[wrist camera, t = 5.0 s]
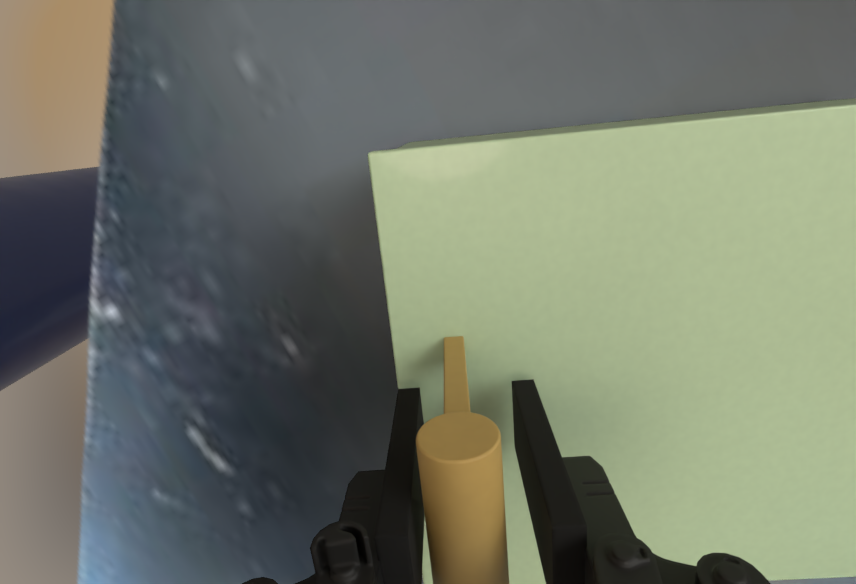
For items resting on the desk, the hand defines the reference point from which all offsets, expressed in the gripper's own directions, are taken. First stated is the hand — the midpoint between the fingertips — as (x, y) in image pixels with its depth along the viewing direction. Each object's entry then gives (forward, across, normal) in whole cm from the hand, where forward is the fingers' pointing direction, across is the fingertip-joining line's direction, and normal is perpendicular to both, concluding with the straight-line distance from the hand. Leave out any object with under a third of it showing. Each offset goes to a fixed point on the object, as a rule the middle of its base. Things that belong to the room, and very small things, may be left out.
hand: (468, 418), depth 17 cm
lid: (+2, +7, 0) cm, 7 cm away
